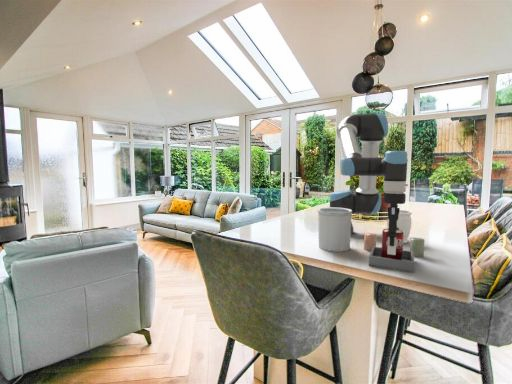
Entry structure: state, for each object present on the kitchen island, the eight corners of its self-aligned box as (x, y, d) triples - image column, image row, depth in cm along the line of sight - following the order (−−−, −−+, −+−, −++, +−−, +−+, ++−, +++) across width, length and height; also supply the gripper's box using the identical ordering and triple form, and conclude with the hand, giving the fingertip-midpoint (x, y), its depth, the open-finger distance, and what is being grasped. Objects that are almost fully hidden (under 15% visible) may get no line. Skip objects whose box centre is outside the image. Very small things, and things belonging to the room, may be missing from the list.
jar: (409, 240, 140) (411, 210, 138) (411, 245, 130) (412, 213, 129) (386, 237, 144) (387, 209, 143) (386, 242, 135) (387, 212, 134)
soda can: (377, 258, 109) (378, 228, 108) (394, 257, 110) (396, 228, 108) (387, 264, 102) (389, 232, 101) (406, 264, 102) (408, 232, 101)
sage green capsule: (409, 256, 114) (410, 239, 113) (409, 253, 118) (410, 237, 117) (424, 258, 111) (425, 241, 111) (423, 254, 116) (424, 238, 115)
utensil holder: (332, 254, 116) (334, 213, 115) (310, 245, 130) (311, 208, 128) (358, 249, 123) (359, 210, 122) (334, 241, 136) (335, 206, 135)
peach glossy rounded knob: (363, 250, 122) (363, 234, 121) (364, 247, 126) (365, 232, 126) (375, 251, 120) (376, 236, 119) (376, 249, 124) (377, 233, 123)
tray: (368, 265, 102) (369, 256, 102) (372, 254, 115) (372, 246, 115) (414, 272, 96) (414, 262, 95) (412, 260, 109) (413, 251, 108)
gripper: (406, 195, 91) (403, 260, 93) (405, 190, 112) (402, 244, 114) (381, 194, 95) (378, 257, 97) (384, 190, 115) (382, 241, 117)
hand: (391, 250), depth 105 cm, fingers open, 11 cm apart
